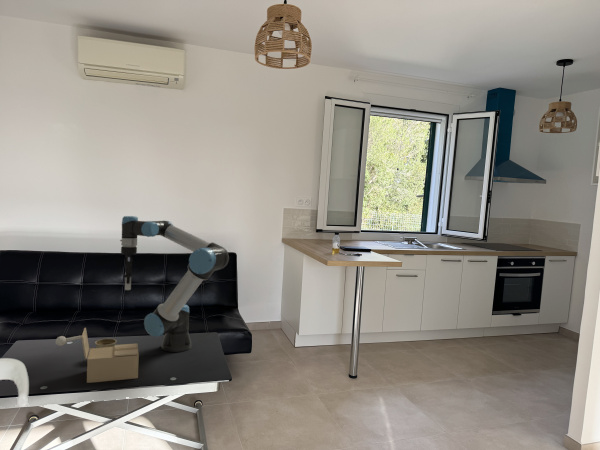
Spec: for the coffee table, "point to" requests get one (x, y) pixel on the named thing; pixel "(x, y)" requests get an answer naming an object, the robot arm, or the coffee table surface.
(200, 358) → the coffee table surface
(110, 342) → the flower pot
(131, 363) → the carton
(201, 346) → the coffee table surface
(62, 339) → the flap
